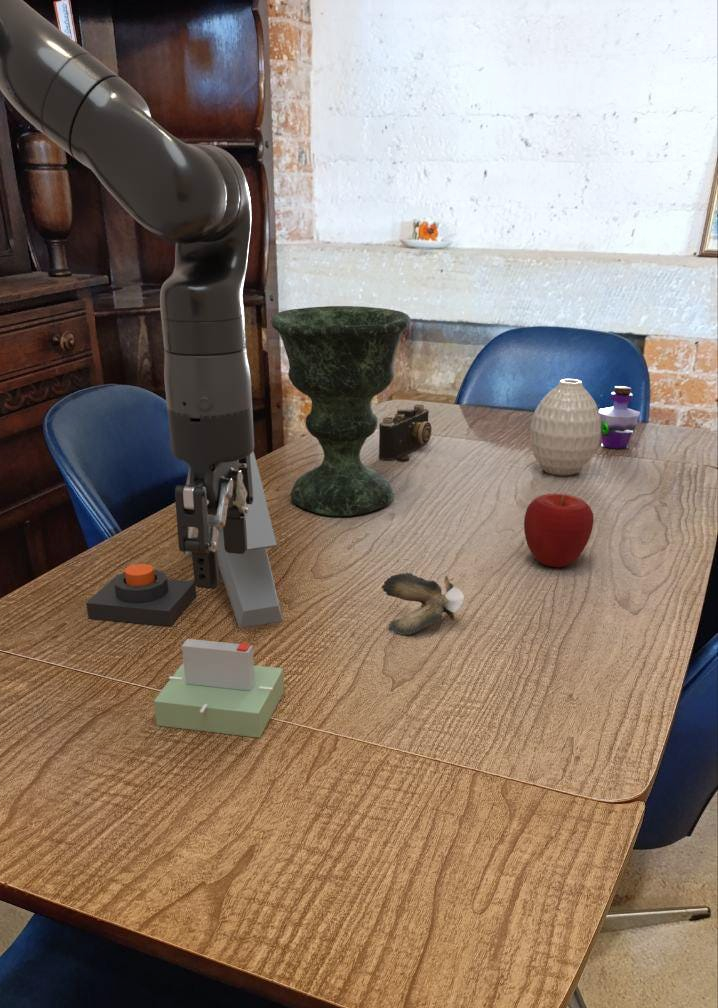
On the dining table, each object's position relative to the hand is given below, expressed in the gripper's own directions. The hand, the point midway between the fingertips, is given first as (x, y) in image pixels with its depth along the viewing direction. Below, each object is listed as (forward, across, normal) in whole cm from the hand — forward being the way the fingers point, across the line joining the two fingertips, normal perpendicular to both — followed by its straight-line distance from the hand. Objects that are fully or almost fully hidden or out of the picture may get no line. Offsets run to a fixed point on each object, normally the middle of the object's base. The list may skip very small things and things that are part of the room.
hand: (222, 568), depth 85 cm
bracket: (+16, -31, -11) cm, 36 cm away
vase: (+16, -91, +34) cm, 99 cm away
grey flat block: (+13, +1, -1) cm, 13 cm away
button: (+12, -20, -19) cm, 30 cm away
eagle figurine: (+16, -23, +17) cm, 33 cm away
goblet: (+16, -67, -3) cm, 69 cm away
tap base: (+16, +1, -1) cm, 16 cm away
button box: (+16, -20, -19) cm, 32 cm away
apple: (+16, -46, +33) cm, 59 cm away
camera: (+16, -98, +5) cm, 99 cm away
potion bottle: (+16, -111, +46) cm, 121 cm away
